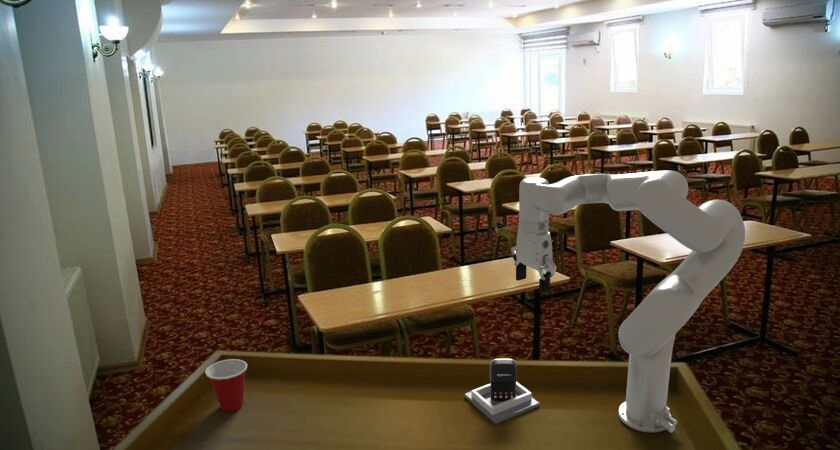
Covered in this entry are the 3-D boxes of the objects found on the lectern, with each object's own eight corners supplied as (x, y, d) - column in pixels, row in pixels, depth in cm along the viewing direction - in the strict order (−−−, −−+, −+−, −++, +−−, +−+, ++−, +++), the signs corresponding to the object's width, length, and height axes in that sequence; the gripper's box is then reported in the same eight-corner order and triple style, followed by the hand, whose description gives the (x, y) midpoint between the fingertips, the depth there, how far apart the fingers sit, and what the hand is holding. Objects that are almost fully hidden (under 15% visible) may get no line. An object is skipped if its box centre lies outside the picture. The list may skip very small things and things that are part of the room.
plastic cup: (258, 394, 173) (253, 356, 169) (244, 418, 163) (238, 378, 159) (221, 393, 174) (214, 356, 170) (204, 417, 164) (197, 377, 160)
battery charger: (490, 403, 163) (490, 365, 159) (489, 394, 167) (489, 357, 163) (517, 403, 163) (517, 365, 159) (516, 394, 166) (516, 357, 163)
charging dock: (539, 406, 163) (539, 396, 162) (495, 424, 156) (495, 414, 155) (506, 381, 174) (506, 371, 173) (464, 396, 168) (464, 387, 167)
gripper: (567, 231, 156) (565, 293, 161) (524, 214, 170) (523, 271, 176) (544, 237, 152) (542, 300, 158) (501, 219, 167) (501, 278, 172)
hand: (532, 285), depth 167 cm, fingers open, 9 cm apart
